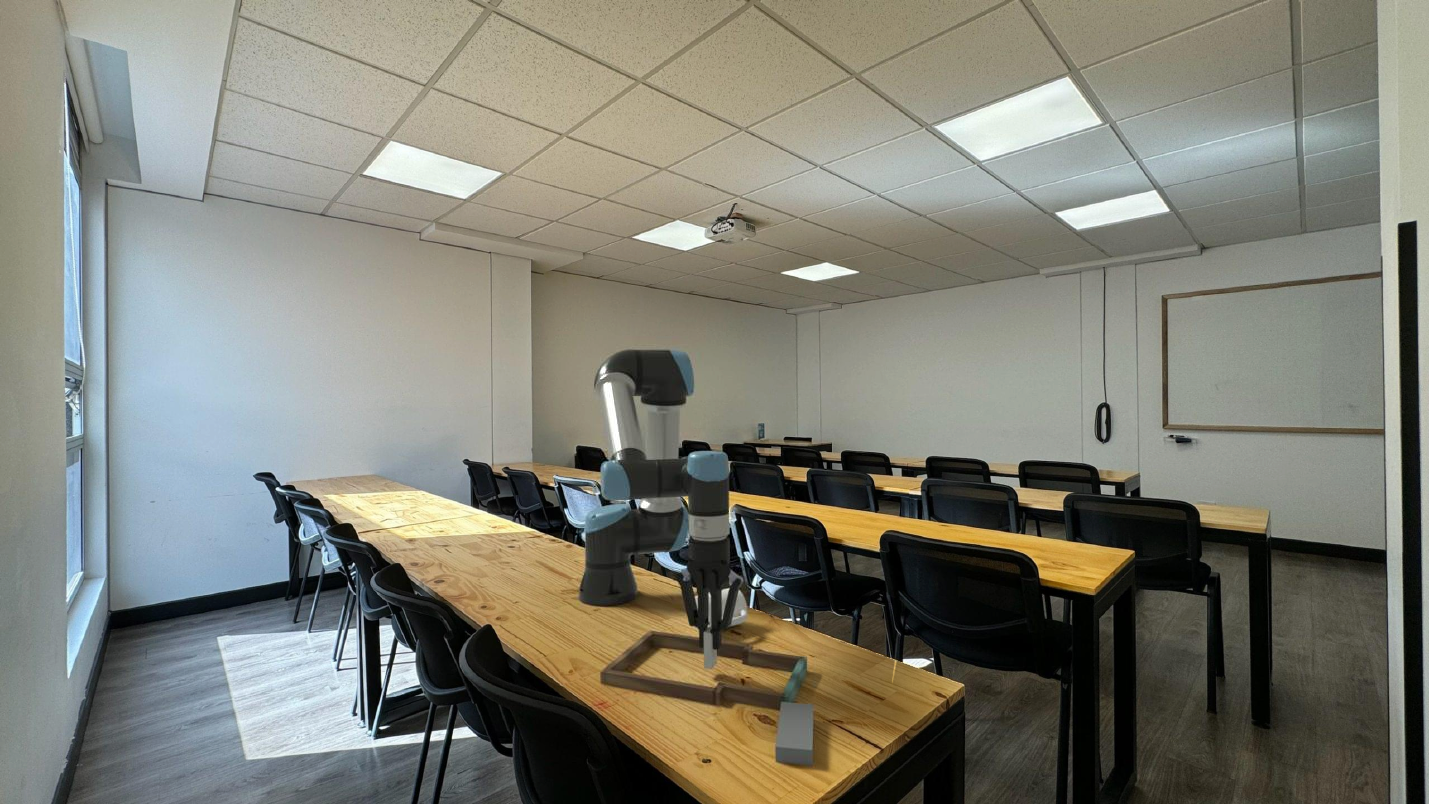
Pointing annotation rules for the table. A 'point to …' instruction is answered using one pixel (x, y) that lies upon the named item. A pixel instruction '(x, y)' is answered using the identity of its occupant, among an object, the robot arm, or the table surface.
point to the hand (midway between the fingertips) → (710, 665)
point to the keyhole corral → (699, 692)
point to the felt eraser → (795, 734)
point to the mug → (739, 610)
